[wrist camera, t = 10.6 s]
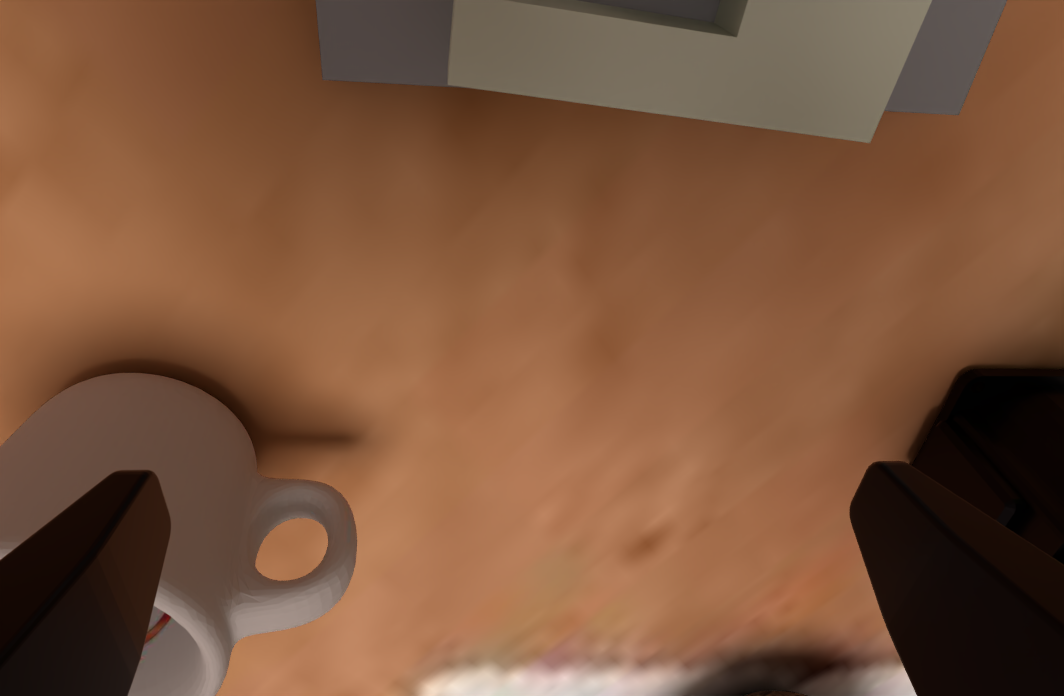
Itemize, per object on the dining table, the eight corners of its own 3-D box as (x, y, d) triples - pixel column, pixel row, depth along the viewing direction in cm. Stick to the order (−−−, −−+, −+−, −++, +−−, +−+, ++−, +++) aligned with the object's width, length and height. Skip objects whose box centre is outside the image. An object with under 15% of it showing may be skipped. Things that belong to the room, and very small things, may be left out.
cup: (369, 346, 22) (334, 556, 15) (373, 520, 26) (347, 739, 20) (-14, 331, 20) (-233, 557, 14) (59, 519, 25) (-79, 757, 18)
